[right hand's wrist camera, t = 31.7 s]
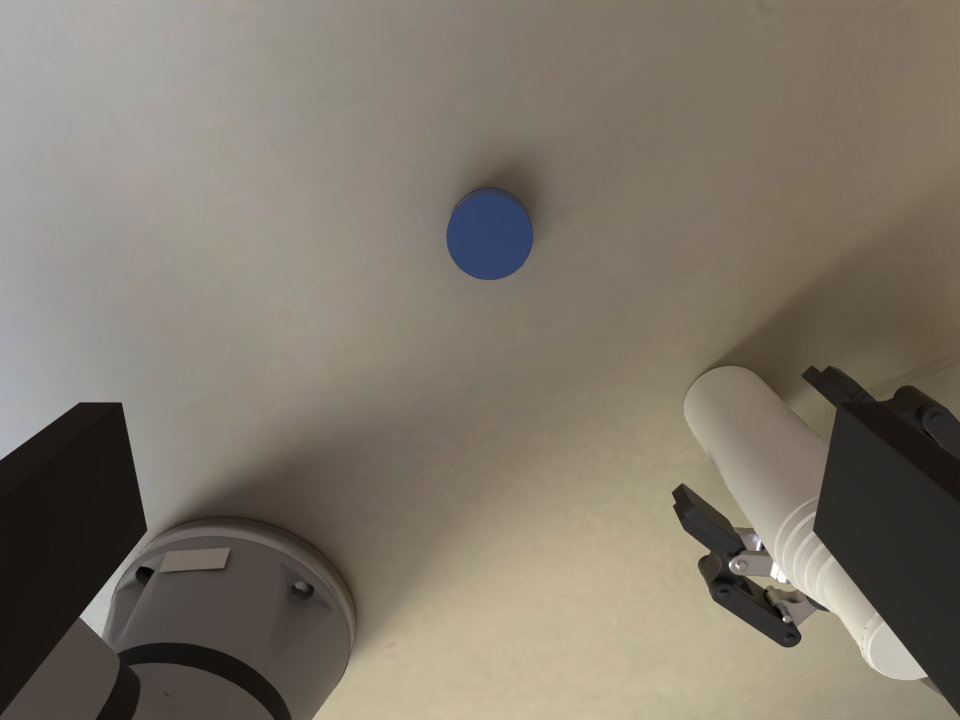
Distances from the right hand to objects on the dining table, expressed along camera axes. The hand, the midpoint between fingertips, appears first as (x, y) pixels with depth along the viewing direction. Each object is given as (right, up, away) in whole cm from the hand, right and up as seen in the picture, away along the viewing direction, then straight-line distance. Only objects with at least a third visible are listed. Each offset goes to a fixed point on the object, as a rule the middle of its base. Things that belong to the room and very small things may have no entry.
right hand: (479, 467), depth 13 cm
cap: (+1, +9, +23) cm, 25 cm away
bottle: (+14, -1, +26) cm, 30 cm away
